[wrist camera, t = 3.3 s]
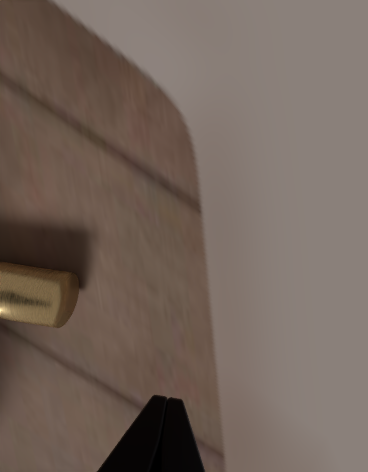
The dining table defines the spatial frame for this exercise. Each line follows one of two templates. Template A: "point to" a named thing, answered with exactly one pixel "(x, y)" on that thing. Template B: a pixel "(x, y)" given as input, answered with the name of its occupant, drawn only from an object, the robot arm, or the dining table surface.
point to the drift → (37, 294)
